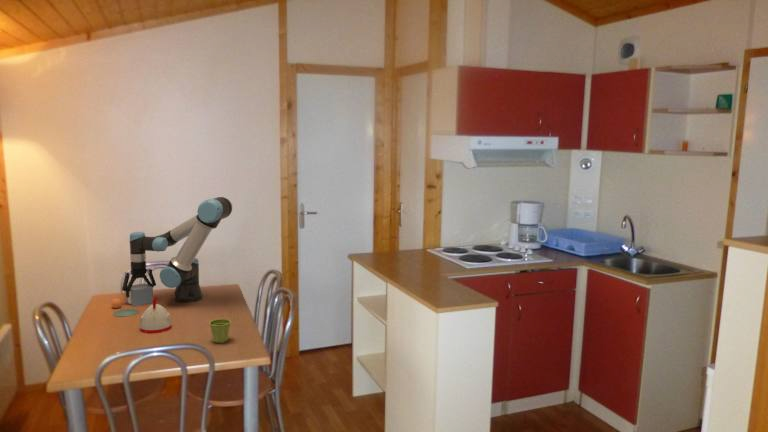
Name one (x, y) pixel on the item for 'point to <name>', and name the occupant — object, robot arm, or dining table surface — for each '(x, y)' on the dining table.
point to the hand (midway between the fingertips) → (139, 301)
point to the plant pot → (220, 329)
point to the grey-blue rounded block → (141, 294)
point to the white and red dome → (155, 319)
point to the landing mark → (125, 312)
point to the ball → (116, 303)
